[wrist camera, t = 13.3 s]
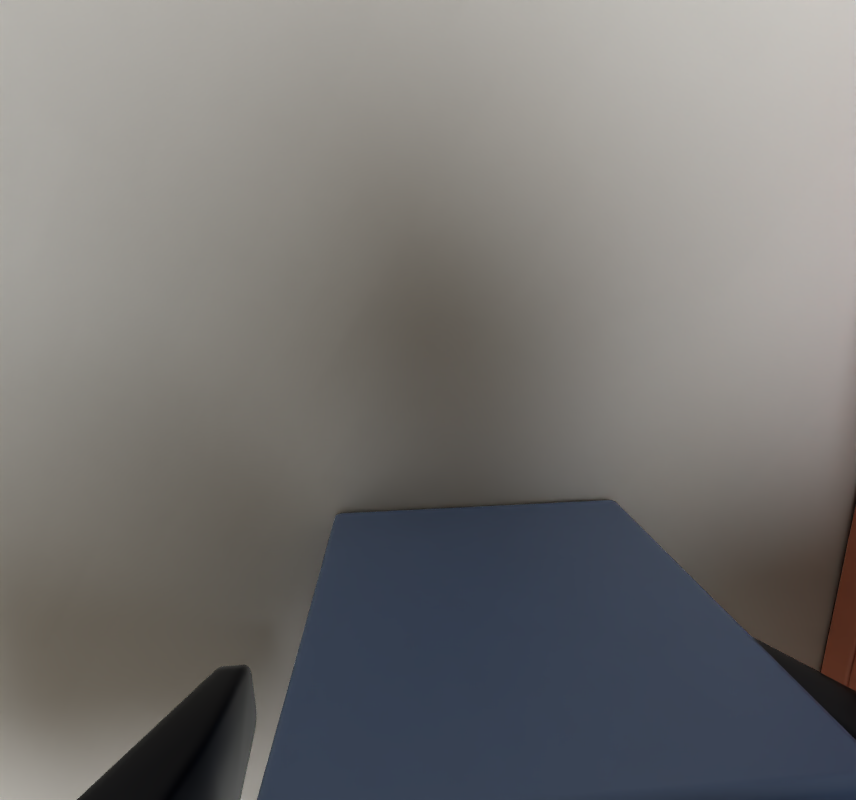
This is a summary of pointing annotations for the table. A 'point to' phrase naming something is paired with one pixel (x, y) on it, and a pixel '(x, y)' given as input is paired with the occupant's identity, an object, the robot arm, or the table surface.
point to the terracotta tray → (844, 622)
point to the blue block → (536, 671)
